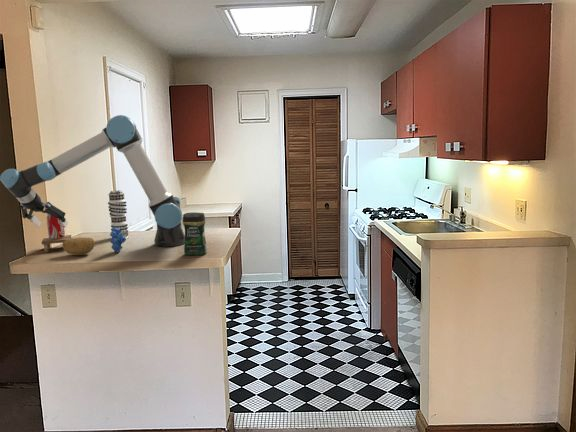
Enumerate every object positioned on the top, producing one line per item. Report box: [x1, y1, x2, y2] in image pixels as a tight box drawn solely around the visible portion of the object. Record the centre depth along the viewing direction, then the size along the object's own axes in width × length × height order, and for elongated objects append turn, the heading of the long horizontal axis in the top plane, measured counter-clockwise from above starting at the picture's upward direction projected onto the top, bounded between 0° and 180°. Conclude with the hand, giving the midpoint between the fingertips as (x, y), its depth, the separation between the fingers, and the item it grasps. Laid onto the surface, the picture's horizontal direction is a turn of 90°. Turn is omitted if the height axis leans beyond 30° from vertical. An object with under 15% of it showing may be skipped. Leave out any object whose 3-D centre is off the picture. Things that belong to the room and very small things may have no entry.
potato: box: [61, 236, 96, 256], centre depth 211 cm, size 10×14×8 cm
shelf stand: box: [41, 234, 72, 253], centre depth 225 cm, size 12×12×5 cm
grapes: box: [109, 227, 127, 254], centre depth 214 cm, size 12×7×12 cm, turn 4°
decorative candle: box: [107, 190, 129, 240], centre depth 246 cm, size 9×9×25 cm
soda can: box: [46, 214, 66, 239], centre depth 224 cm, size 7×7×12 cm
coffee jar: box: [182, 212, 208, 256], centre depth 206 cm, size 10×8×19 cm
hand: (52, 225), depth 222 cm, fingers open, 13 cm apart
